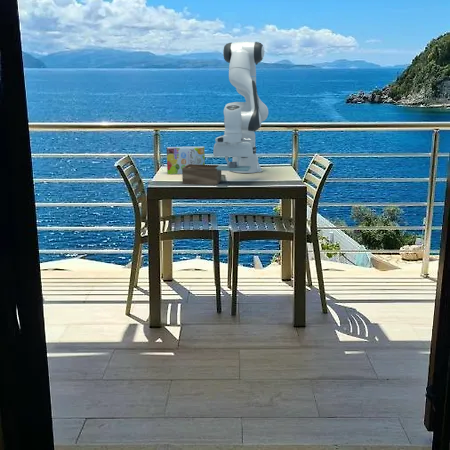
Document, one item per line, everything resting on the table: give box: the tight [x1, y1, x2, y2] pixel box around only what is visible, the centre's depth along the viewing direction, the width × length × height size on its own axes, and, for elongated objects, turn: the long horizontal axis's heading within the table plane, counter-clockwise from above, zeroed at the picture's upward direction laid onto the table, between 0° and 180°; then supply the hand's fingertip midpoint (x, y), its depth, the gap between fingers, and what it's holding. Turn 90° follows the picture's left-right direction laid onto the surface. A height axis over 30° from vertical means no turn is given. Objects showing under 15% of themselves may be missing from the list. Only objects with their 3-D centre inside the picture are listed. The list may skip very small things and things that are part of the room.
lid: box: [215, 161, 251, 172], centre depth 299 cm, size 10×17×4 cm, turn 78°
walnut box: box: [181, 164, 222, 186], centre depth 303 cm, size 12×18×8 cm, turn 79°
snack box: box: [166, 145, 206, 175], centre depth 328 cm, size 21×6×15 cm, turn 92°
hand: (233, 165), depth 299 cm, fingers closed on lid, 3 cm apart
